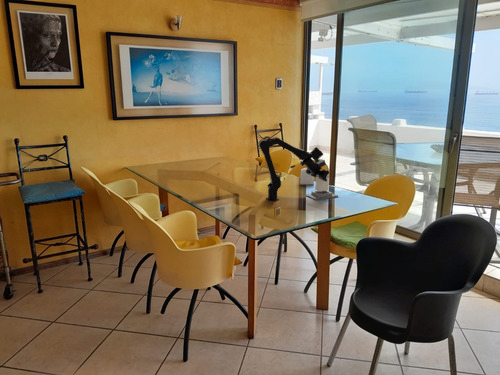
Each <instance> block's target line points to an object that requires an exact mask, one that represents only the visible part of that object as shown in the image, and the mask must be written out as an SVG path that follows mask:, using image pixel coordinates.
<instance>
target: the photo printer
mask: <svg viewBox="0 0 500 375" xmlns="http://www.w3.org/2000/svg"><path fill="white" fill-rule="evenodd" d="M306 170H307V167H304V168H301V169H300V183H299V184H300V185H314V184H315V177H313V176H311V173H310V175H309V174H307V173H306Z"/></svg>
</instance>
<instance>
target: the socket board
mask: <svg viewBox="0 0 500 375" xmlns="http://www.w3.org/2000/svg"><path fill="white" fill-rule="evenodd" d="M305 197H307V198H309V199H311V200H314V201H321V200H328V199H333V198H339V195H338V194H335V193H333V192H331V191H329V190H328V191H317V190H312V191H311V193H307V194H305Z"/></svg>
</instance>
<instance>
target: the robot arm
mask: <svg viewBox="0 0 500 375" xmlns="http://www.w3.org/2000/svg"><path fill="white" fill-rule="evenodd" d="M275 145H278V146H280V147H282V149H283V148H284V150H286V151H288V152H290V153H292V154H293V155H294V156H296V157H297V158H298V159H299V160H300V164H299V165H300V166H302V167H304V166H305V168H307V170H306V173H307V174H309V175H310V173H311V176H313V177H314V179H316V175H319V179H322V180H324V181H327V178H326V176H327V175H329V174H330V171H329V170H328V169H322V168H323V167H324V166H326V165H327V164H326V161H325V160H326V159H323V158H322V159H321V157H322V156H324V153H323V151H322V150H320V149H319V148H318V146H316V147H314V148H313V149H312V150H311V151H306V150H304V149H302V148H299V147H296V146H293V145H291V144H290V143H288V142H286V141H284V140H282V139H280V137H277V136H275V137H273V138H268V139H260V140H259V141H258V147H259V149H260V151H261V152H262V154H263V157H264V160H265V163H266V167H267V169H268V172H269V180H270V182H269V184H267V185H266V186H267V190H268V191H267V197H265V199H266V200H267V201H269V202H273V201H279V200H280V198H278V190H279V189H280V188H281V187H282V183H283V182H282V181H281V176H280V175H279V174H277V173H276V170H275V166H274V163H273V160H272V159H273V158H272V156H271V153H270V152H271V151H270V147H273V146H275Z"/></svg>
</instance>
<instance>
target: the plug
mask: <svg viewBox="0 0 500 375" xmlns="http://www.w3.org/2000/svg"><path fill="white" fill-rule="evenodd" d="M326 178H327V181H324V180H322V179H319V175H316V178H315V189H314V191H329V188H330V186H329V185H330V175H329V174H328V175H327V176H326Z"/></svg>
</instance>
